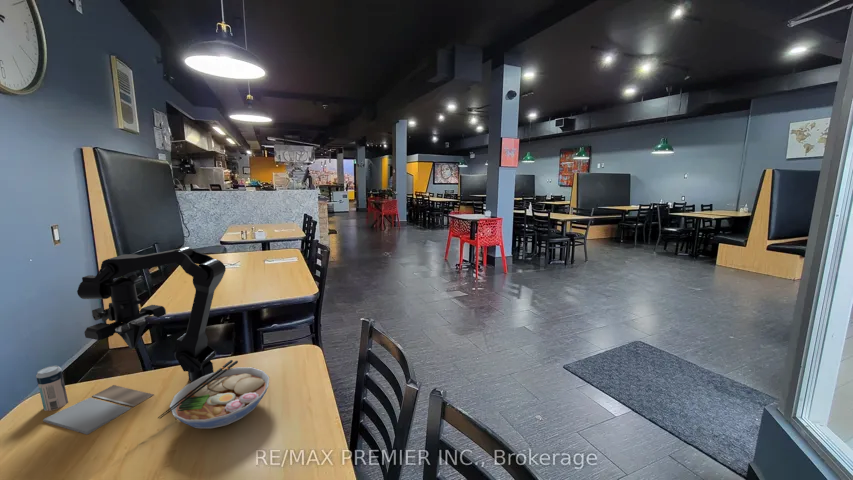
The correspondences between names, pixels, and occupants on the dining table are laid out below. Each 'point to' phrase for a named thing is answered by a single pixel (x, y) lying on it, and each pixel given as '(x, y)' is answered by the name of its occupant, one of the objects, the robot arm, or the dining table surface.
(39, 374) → the grey can
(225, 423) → the ramen bowl
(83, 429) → the grey tile
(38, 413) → the dining table surface
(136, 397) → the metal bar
